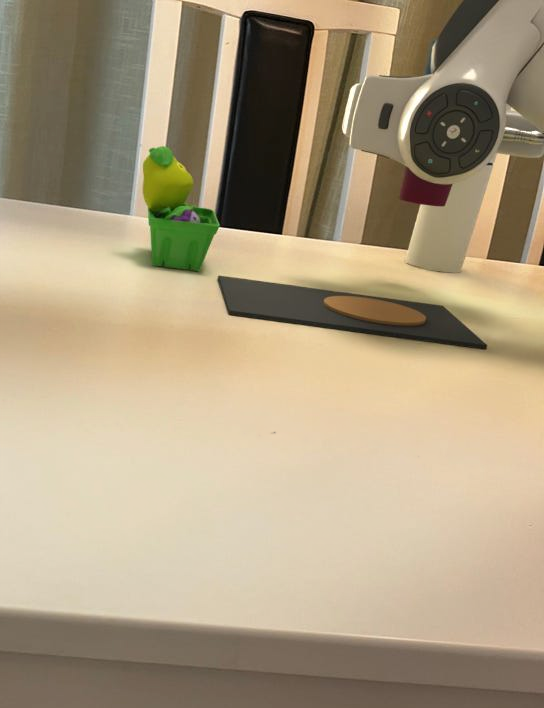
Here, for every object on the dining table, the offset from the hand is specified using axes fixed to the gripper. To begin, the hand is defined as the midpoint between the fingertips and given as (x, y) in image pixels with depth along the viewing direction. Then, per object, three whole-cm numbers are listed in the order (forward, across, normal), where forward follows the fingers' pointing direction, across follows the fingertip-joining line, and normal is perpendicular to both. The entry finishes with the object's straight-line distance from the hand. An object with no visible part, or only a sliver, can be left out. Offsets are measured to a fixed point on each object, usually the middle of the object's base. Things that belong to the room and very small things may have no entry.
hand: (443, 120), depth 107 cm
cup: (-1, 0, +8) cm, 8 cm away
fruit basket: (-10, +25, +17) cm, 32 cm away
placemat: (-20, +5, +17) cm, 27 cm away
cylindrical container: (+19, -4, +17) cm, 26 cm away
